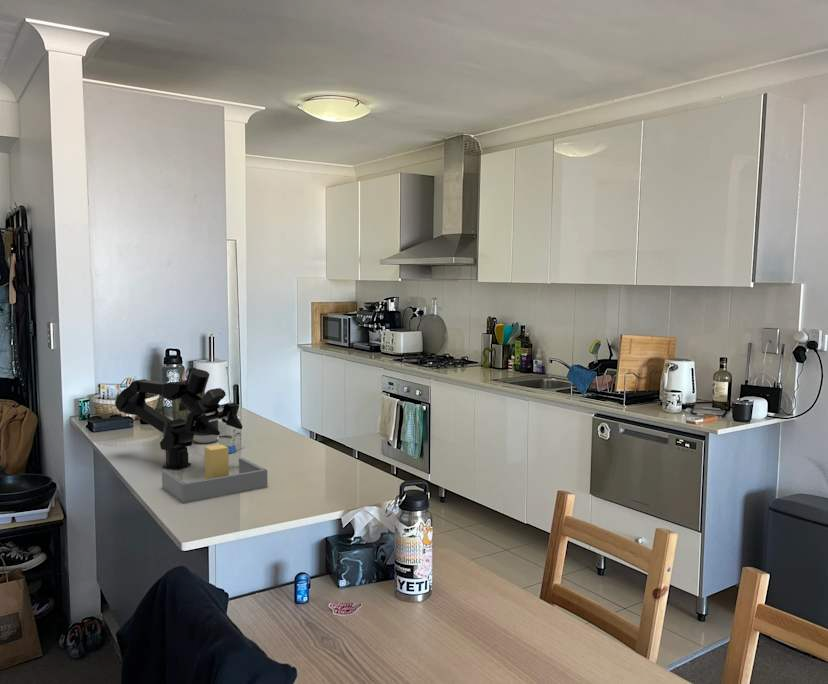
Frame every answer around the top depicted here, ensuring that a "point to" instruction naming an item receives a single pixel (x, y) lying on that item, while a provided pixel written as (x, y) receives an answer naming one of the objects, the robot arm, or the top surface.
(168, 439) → the robot arm
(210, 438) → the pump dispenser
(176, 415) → the tabletop clock
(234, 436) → the ink box
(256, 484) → the open box
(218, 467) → the ochre block
